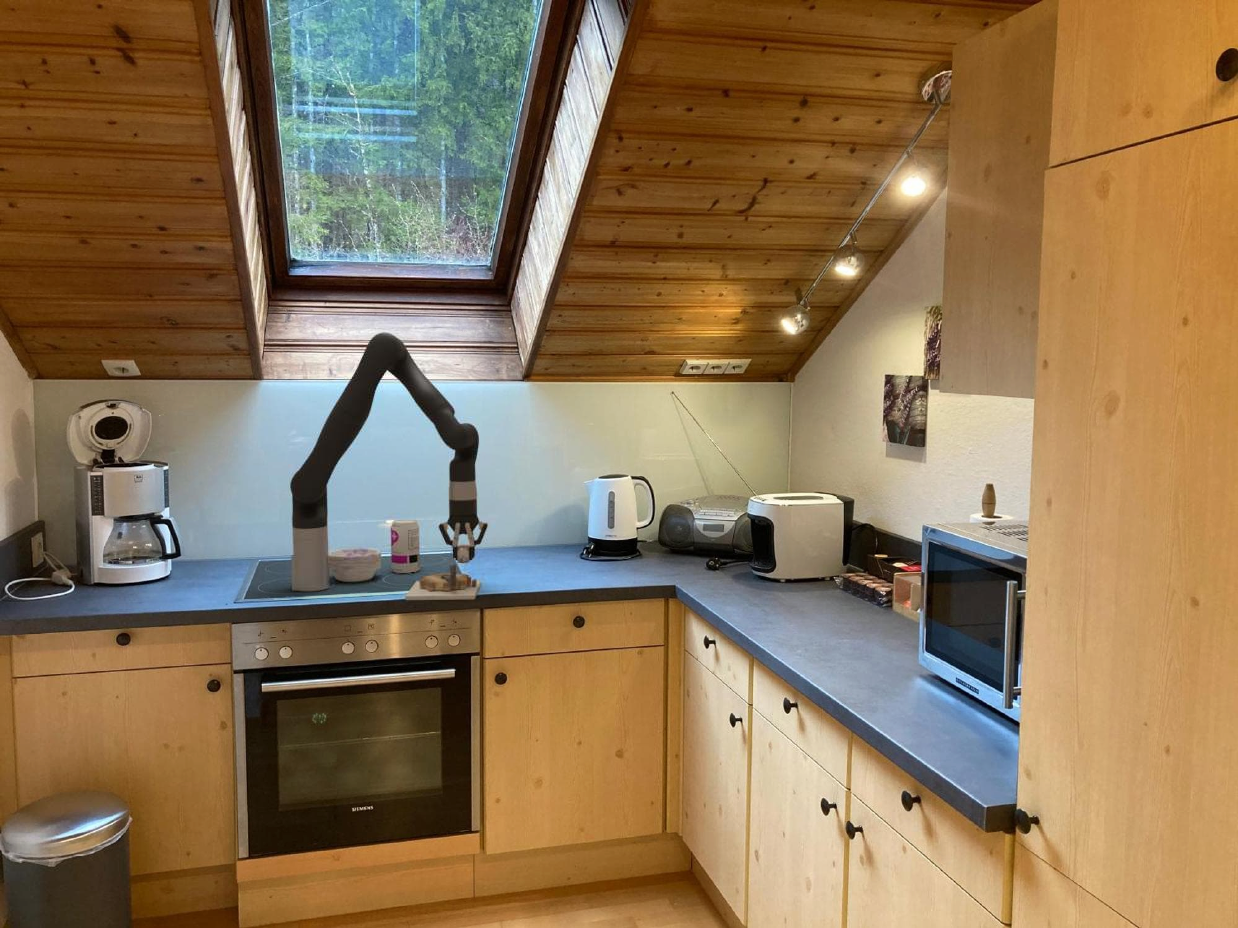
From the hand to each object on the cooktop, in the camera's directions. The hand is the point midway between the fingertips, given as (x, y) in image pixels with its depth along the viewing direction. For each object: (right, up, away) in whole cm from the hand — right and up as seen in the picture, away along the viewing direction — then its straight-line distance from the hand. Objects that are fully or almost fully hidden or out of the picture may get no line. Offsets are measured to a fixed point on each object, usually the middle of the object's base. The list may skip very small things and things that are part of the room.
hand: (464, 559), depth 280 cm
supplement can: (-21, -6, +25) cm, 33 cm away
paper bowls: (-34, -7, +14) cm, 37 cm away
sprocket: (-4, -7, -1) cm, 8 cm away
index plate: (-5, -8, -2) cm, 10 cm away
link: (0, 0, 0) cm, 0 cm away
